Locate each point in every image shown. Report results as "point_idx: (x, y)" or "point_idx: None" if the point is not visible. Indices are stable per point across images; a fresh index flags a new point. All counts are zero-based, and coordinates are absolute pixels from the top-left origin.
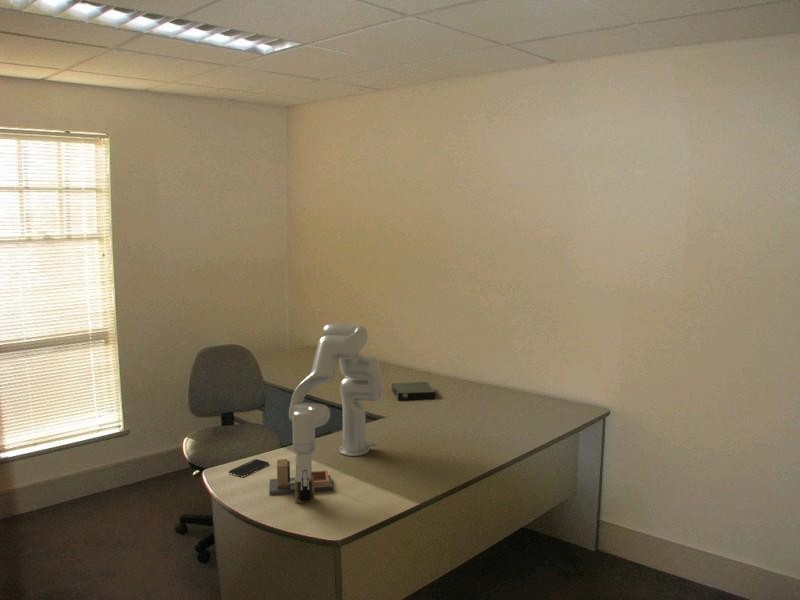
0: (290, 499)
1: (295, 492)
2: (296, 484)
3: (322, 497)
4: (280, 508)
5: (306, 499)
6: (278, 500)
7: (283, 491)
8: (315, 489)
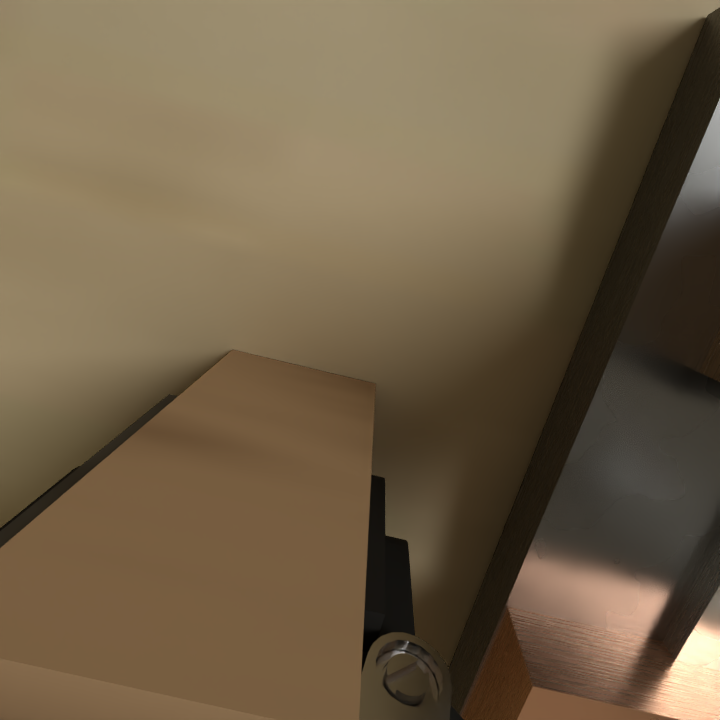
0: (374, 317)
1: (160, 417)
2: (34, 555)
3: None
4: (123, 94)
5: None
6: (417, 131)
7: (628, 272)
8: (464, 665)
